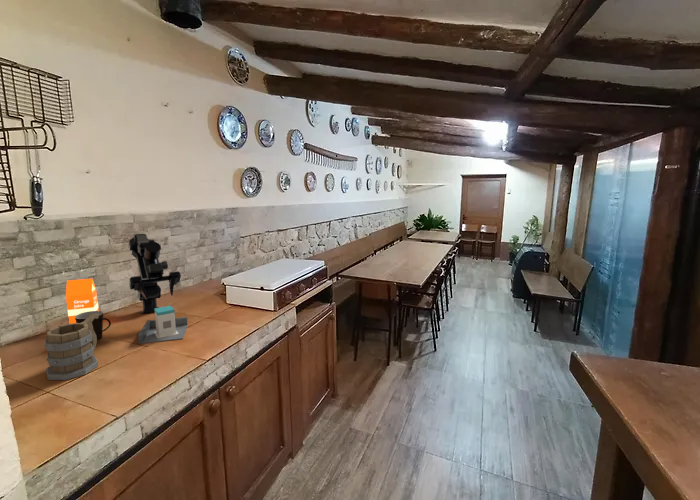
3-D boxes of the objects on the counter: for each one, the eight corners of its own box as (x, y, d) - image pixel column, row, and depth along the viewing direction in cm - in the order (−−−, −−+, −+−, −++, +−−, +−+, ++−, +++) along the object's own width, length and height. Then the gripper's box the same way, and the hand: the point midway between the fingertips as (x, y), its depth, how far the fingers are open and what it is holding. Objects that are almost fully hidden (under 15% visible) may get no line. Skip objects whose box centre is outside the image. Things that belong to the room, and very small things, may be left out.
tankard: (76, 381, 105) (70, 334, 103) (35, 379, 106) (28, 333, 103) (120, 350, 125) (116, 311, 123) (86, 349, 125) (81, 310, 123)
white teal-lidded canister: (156, 332, 140) (154, 308, 138) (172, 328, 144) (170, 305, 142) (159, 337, 136) (157, 312, 134) (176, 333, 139) (174, 309, 138)
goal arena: (148, 328, 145) (147, 320, 144) (187, 324, 150) (187, 316, 149) (138, 343, 131) (137, 335, 130) (182, 339, 135) (182, 330, 135)
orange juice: (75, 323, 149) (69, 278, 145) (100, 320, 153) (95, 276, 149) (69, 330, 142) (63, 282, 138) (96, 327, 146) (90, 280, 142)
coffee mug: (73, 341, 132) (70, 316, 130) (98, 333, 140) (95, 309, 138) (89, 348, 127) (86, 322, 125) (114, 339, 134) (112, 314, 133)
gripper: (127, 257, 139) (134, 290, 132) (178, 253, 150) (186, 283, 144) (126, 273, 146) (133, 305, 140) (175, 267, 158) (183, 296, 151)
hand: (159, 297), depth 143 cm, fingers open, 9 cm apart
